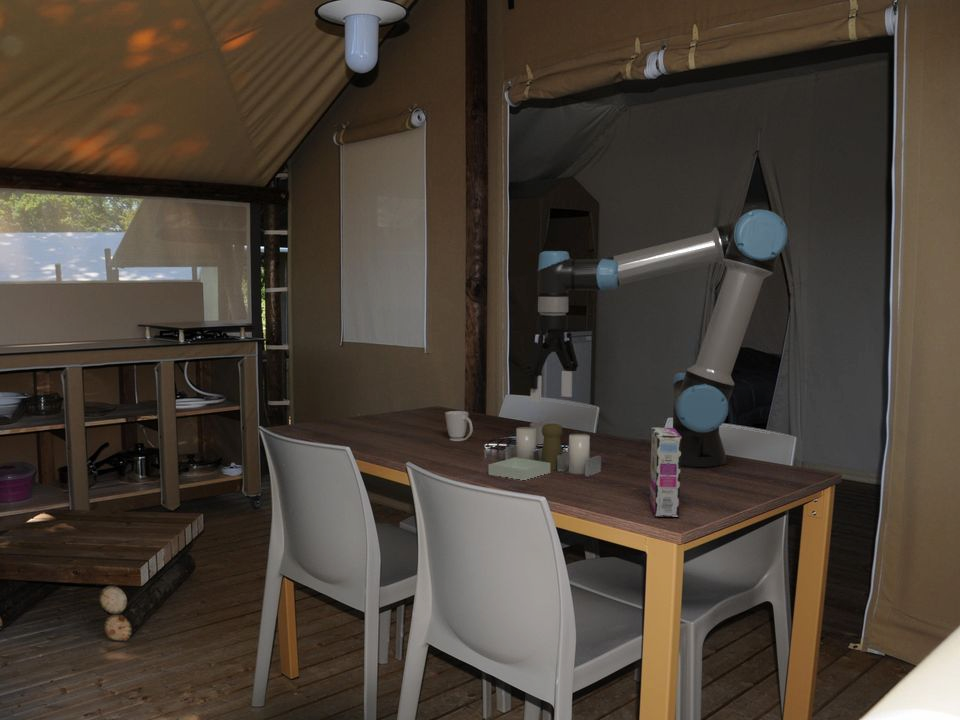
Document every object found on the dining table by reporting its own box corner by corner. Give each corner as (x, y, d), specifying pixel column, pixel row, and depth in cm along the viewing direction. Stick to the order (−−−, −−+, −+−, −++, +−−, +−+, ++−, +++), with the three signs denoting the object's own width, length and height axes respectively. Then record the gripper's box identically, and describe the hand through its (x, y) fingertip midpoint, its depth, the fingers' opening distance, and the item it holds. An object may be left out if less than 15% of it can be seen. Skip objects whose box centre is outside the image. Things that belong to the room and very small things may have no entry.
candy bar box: (680, 519, 167) (682, 436, 165) (654, 518, 167) (656, 436, 166) (673, 504, 178) (674, 426, 176) (649, 503, 178) (650, 426, 177)
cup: (458, 436, 257) (457, 410, 256) (480, 441, 250) (480, 413, 249) (440, 439, 252) (440, 412, 251) (462, 444, 245) (462, 416, 244)
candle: (561, 443, 245) (561, 422, 245) (561, 449, 236) (561, 427, 236) (530, 443, 246) (530, 421, 246) (529, 449, 237) (529, 426, 237)
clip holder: (600, 472, 208) (601, 455, 208) (587, 476, 204) (588, 459, 203) (519, 459, 224) (519, 444, 223) (505, 462, 219) (505, 447, 219)
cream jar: (593, 471, 209) (593, 435, 208) (582, 475, 205) (582, 438, 204) (575, 468, 212) (576, 433, 211) (564, 472, 208) (565, 435, 207)
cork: (548, 470, 210) (548, 426, 209) (535, 466, 215) (535, 423, 214) (568, 468, 212) (569, 424, 211) (555, 463, 218) (555, 421, 217)
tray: (550, 473, 207) (550, 462, 207) (524, 480, 199) (524, 470, 199) (515, 467, 214) (515, 457, 214) (488, 474, 206) (488, 464, 205)
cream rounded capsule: (539, 462, 219) (539, 428, 218) (528, 466, 215) (528, 431, 214) (523, 460, 222) (524, 426, 221) (512, 463, 218) (512, 428, 217)
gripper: (567, 312, 222) (566, 393, 224) (510, 314, 203) (509, 403, 205) (592, 313, 218) (590, 395, 219) (536, 315, 198) (534, 406, 200)
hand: (551, 399), depth 212 cm, fingers open, 13 cm apart
